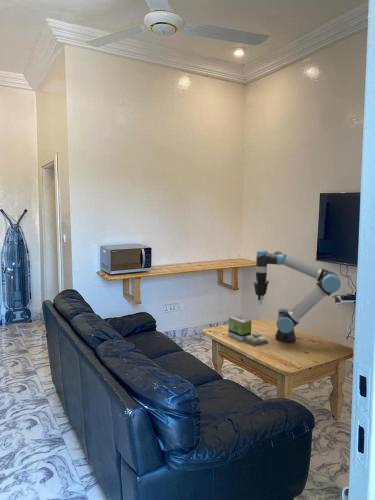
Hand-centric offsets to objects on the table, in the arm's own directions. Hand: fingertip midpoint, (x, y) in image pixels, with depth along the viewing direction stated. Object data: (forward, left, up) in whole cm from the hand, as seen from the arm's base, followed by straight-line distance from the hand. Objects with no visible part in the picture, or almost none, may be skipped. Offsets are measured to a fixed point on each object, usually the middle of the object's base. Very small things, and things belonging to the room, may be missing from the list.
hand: (260, 304), depth 277 cm
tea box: (+6, -16, -29) cm, 33 cm away
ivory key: (-1, +1, -28) cm, 28 cm away
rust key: (+5, +1, -28) cm, 29 cm away
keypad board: (+2, -1, -28) cm, 29 cm away
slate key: (-1, -4, -27) cm, 27 cm away
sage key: (+5, -4, -28) cm, 29 cm away
